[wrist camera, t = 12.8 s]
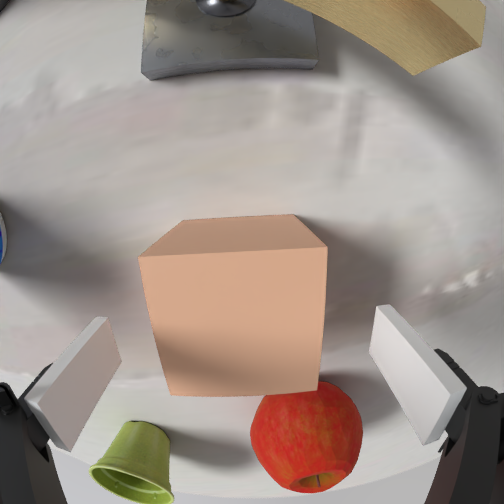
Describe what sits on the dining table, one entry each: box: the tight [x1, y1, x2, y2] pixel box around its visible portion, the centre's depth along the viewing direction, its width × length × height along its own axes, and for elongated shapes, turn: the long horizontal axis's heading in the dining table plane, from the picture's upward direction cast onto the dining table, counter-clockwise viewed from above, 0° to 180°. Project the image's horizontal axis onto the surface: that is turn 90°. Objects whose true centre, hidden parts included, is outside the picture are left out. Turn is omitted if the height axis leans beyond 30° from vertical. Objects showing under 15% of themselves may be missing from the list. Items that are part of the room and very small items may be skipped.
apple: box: [250, 381, 363, 493], centre depth 20 cm, size 10×10×10 cm
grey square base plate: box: [141, 0, 319, 80], centre depth 14 cm, size 12×12×2 cm
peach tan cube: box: [138, 214, 328, 397], centre depth 17 cm, size 8×8×9 cm
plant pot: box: [89, 421, 174, 504], centre depth 23 cm, size 9×9×9 cm
